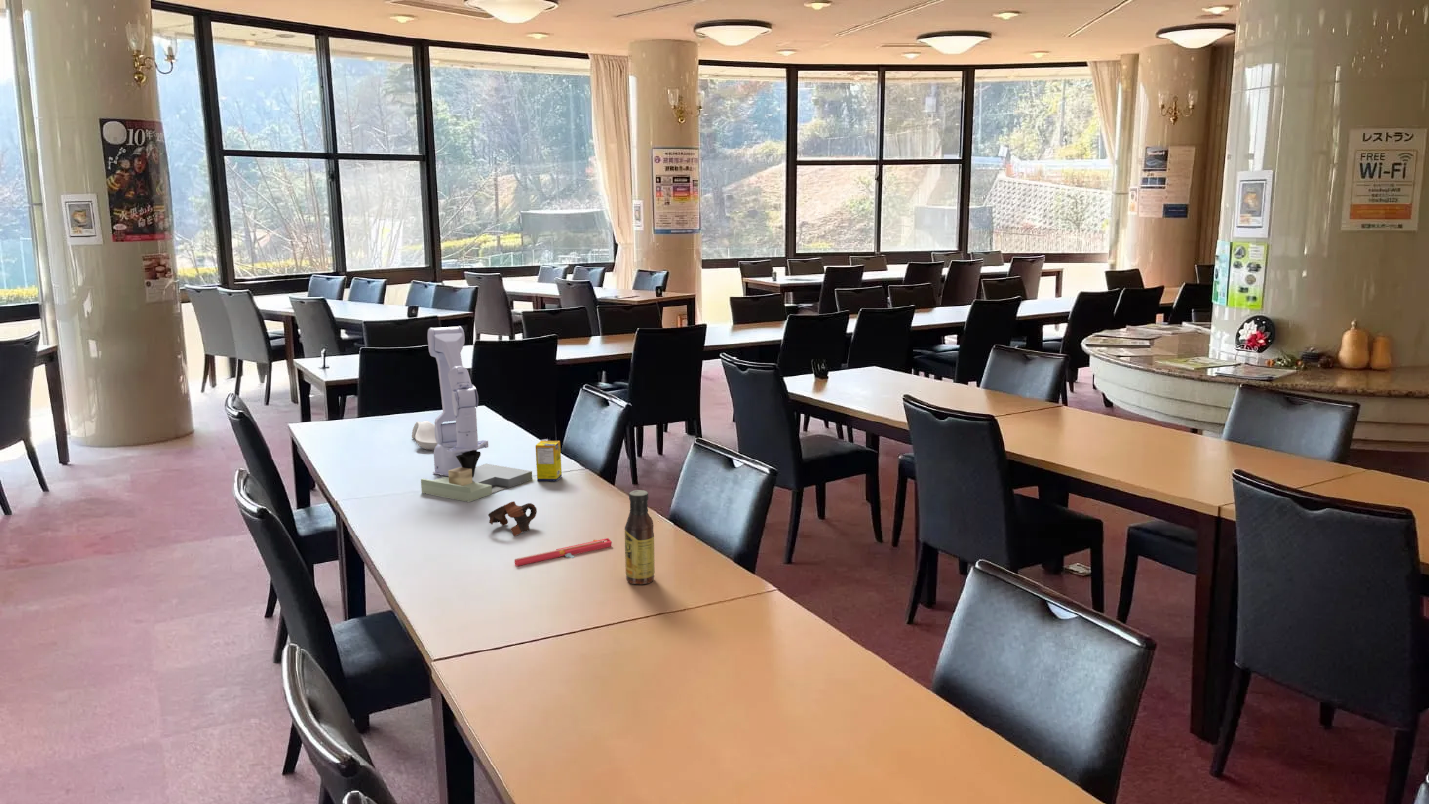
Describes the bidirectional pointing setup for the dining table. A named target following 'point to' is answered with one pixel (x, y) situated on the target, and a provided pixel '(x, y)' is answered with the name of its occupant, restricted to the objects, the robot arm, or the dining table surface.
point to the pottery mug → (514, 516)
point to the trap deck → (477, 483)
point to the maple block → (460, 476)
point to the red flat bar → (564, 552)
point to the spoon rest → (425, 435)
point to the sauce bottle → (639, 540)
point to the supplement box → (548, 461)
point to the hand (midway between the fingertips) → (469, 477)
